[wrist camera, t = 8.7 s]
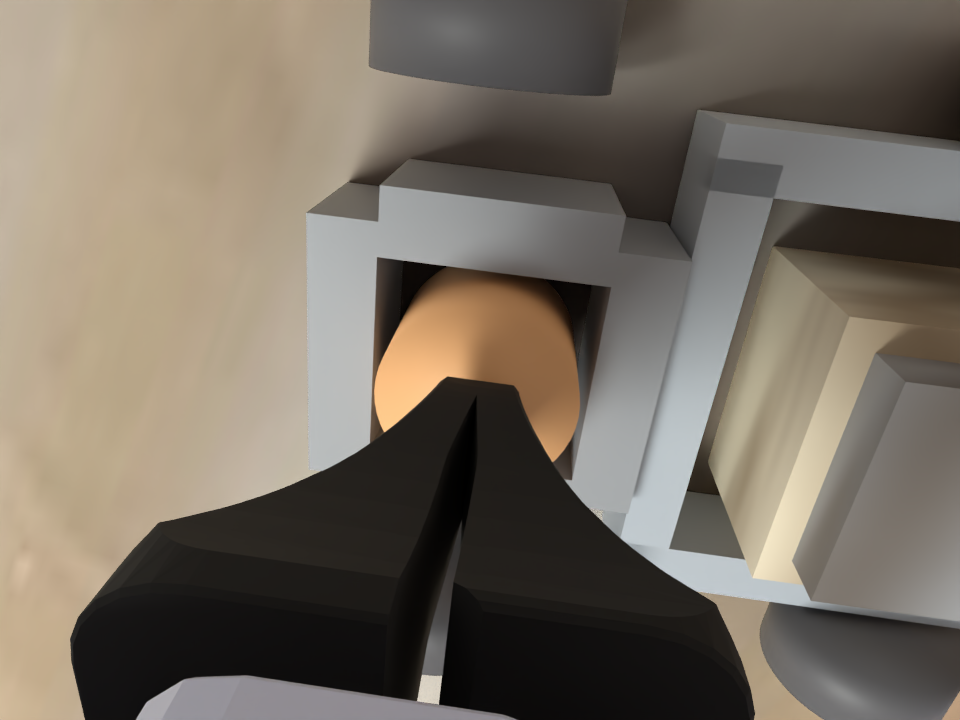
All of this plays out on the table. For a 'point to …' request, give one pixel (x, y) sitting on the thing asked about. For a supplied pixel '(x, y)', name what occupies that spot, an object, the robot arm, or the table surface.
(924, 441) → the two-tone stepped block
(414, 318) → the orange rounded peg
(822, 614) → the frame
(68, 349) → the table surface
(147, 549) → the robot arm
